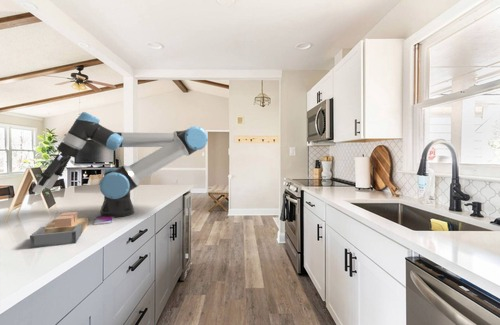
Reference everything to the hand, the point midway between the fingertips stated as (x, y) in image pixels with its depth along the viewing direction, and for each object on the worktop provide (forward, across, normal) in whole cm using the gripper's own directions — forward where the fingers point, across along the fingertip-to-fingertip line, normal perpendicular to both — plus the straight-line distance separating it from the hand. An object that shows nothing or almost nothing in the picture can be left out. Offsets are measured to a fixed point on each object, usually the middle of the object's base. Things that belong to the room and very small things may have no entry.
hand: (41, 190), depth 102 cm
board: (+8, +10, +16) cm, 21 cm away
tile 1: (+6, +14, +15) cm, 21 cm away
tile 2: (+6, +7, +15) cm, 17 cm away
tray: (+8, +23, +16) cm, 29 cm away
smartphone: (+3, -2, +27) cm, 27 cm away
